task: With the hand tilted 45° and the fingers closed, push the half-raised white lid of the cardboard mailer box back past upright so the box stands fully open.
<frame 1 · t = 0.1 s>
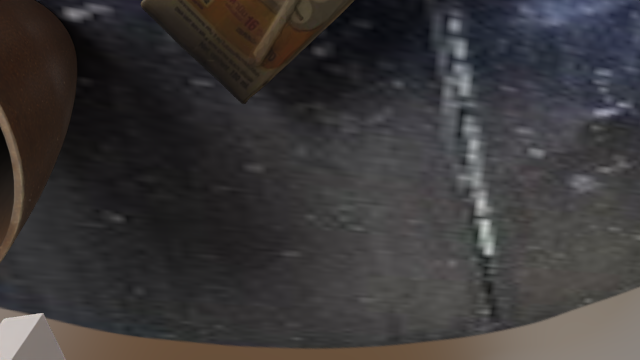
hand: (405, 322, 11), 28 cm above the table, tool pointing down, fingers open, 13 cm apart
plant pot: (21, 54, 37), on the table
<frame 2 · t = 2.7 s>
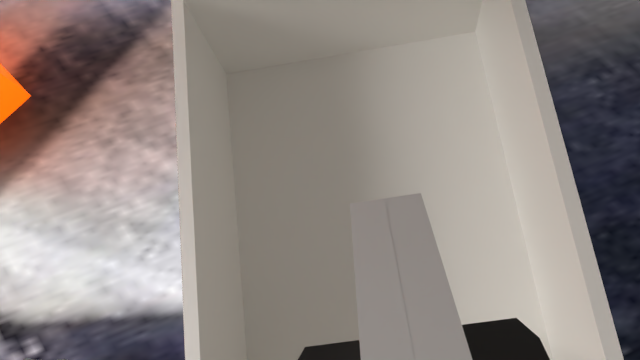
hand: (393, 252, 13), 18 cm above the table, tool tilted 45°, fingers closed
mailer box: (372, 208, 32), on the table
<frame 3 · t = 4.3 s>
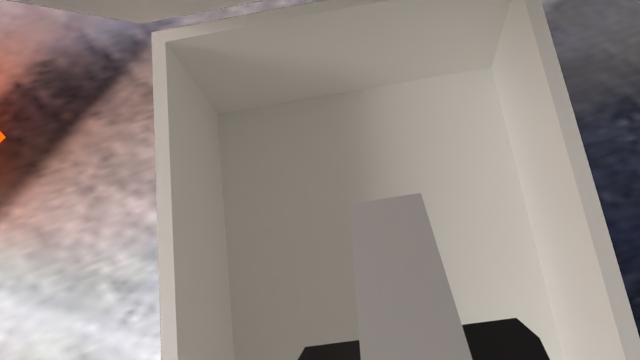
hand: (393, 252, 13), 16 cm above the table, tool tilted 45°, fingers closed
mailer box: (379, 266, 29), on the table
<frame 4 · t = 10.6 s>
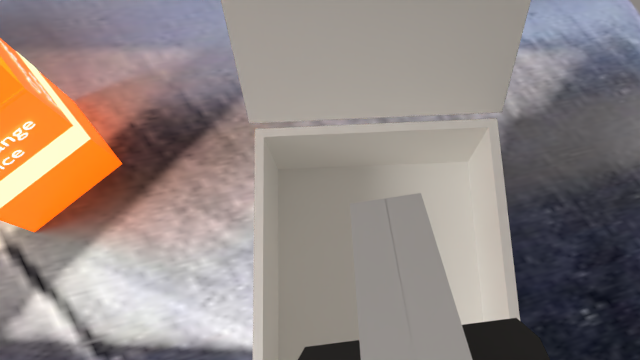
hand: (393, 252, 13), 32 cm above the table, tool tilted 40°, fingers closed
mailer box: (377, 287, 43), on the table
orange juice: (55, 164, 48), on the table
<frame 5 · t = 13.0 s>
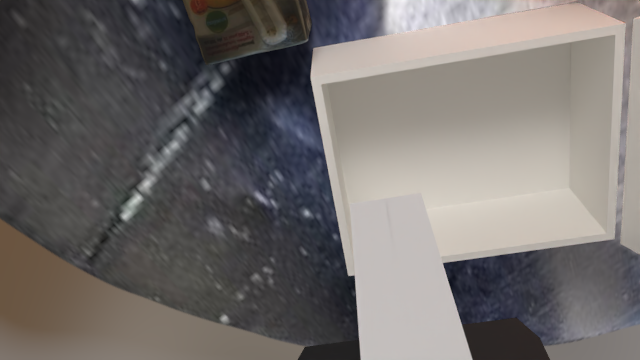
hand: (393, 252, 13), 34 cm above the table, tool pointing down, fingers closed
mailer box: (450, 122, 48), on the table
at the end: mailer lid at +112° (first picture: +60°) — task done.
